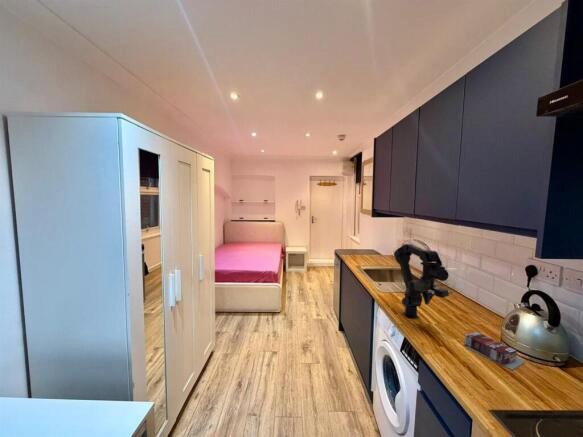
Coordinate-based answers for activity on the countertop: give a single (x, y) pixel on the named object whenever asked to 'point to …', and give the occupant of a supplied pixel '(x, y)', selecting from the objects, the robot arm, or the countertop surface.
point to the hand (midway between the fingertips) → (426, 304)
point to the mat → (509, 365)
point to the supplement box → (490, 348)
